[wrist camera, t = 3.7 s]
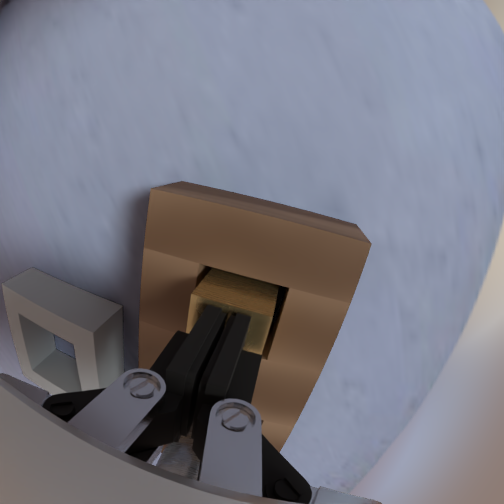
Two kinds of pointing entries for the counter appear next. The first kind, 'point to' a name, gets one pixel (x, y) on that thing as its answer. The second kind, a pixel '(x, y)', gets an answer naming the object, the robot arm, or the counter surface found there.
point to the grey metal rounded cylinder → (180, 458)
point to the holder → (63, 333)
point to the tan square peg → (236, 303)
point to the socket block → (258, 267)
